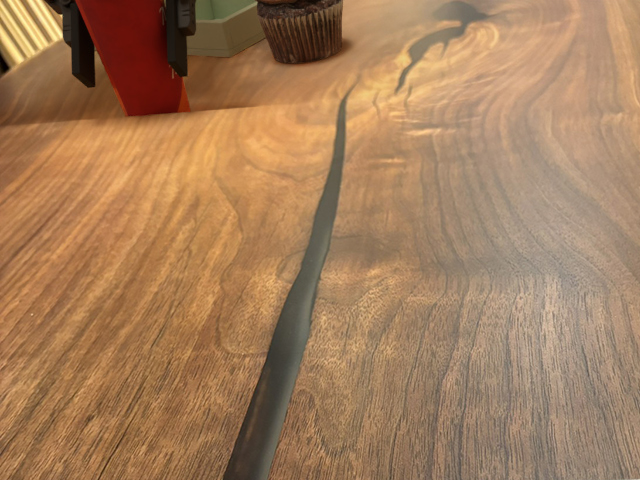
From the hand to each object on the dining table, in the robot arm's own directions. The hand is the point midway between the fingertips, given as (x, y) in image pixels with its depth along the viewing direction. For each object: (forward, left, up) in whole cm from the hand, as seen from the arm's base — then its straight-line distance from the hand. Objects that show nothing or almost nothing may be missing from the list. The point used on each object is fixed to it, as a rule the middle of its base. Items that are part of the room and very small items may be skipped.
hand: (130, 75), depth 65 cm
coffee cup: (0, +3, -6) cm, 7 cm away
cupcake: (+11, +21, -6) cm, 25 cm away
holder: (-7, +31, -6) cm, 33 cm away
